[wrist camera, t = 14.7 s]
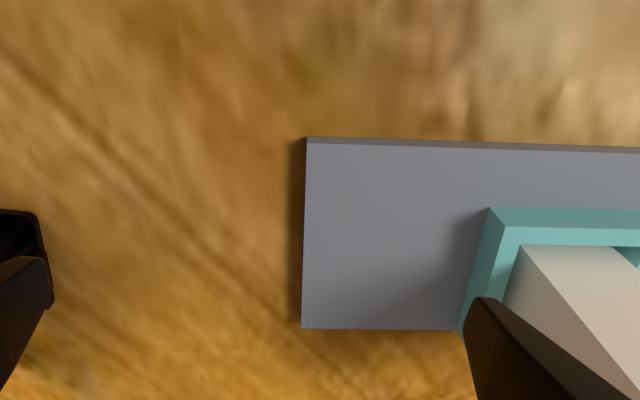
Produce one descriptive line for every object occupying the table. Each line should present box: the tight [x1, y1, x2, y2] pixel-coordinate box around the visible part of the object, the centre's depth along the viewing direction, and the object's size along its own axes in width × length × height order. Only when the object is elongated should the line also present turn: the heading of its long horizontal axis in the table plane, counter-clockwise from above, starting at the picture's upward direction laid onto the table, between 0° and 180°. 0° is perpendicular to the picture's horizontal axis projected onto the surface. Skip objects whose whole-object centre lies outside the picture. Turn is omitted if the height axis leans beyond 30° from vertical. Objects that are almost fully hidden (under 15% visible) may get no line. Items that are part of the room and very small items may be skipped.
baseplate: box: [301, 136, 640, 348], centre depth 23 cm, size 19×12×3 cm, turn 87°
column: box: [501, 244, 640, 400], centre depth 18 cm, size 5×5×13 cm
